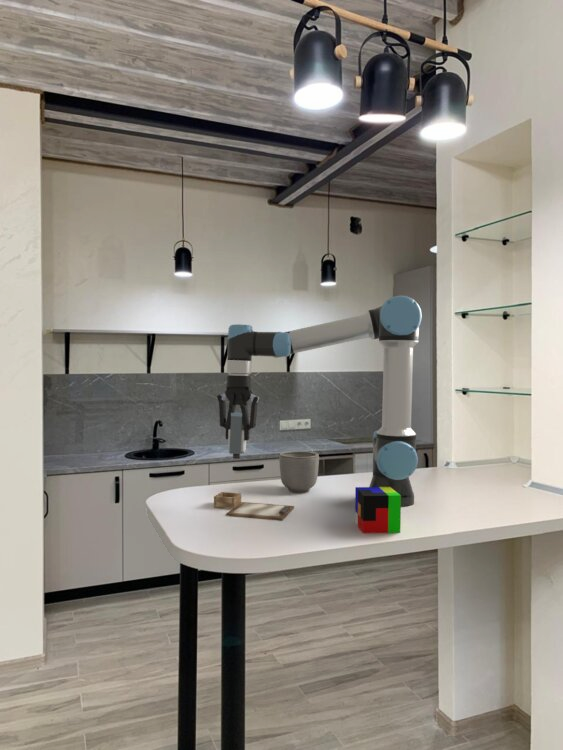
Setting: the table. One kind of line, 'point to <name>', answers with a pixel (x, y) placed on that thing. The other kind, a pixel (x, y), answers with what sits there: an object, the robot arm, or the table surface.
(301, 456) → the planter
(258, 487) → the table surface
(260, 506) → the clipboard
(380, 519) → the puzzle toy
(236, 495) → the holder
